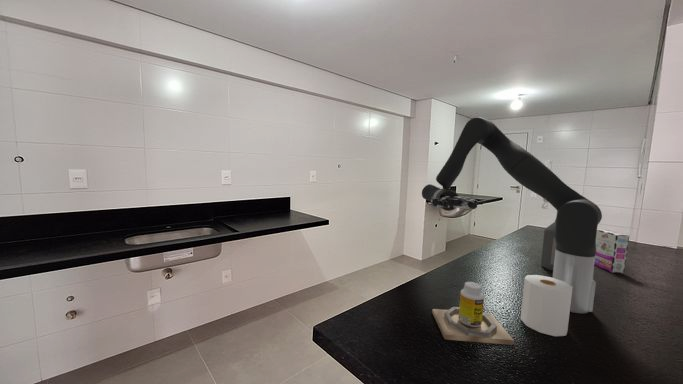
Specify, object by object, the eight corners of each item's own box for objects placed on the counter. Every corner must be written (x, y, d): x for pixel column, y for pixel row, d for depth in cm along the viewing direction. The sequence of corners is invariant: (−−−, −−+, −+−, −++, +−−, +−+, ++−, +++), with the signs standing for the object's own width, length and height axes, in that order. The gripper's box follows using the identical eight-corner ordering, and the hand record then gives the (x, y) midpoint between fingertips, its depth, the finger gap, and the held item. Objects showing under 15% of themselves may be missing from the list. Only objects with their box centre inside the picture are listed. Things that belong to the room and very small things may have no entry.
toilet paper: (571, 342, 66) (577, 294, 65) (520, 327, 71) (525, 283, 70) (564, 322, 74) (569, 280, 73) (519, 310, 80) (523, 271, 79)
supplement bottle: (474, 330, 67) (477, 291, 66) (454, 319, 71) (456, 282, 70) (486, 324, 70) (489, 286, 69) (466, 314, 74) (469, 278, 73)
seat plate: (490, 317, 76) (490, 308, 76) (513, 344, 64) (514, 335, 64) (432, 312, 77) (432, 304, 77) (444, 339, 65) (445, 330, 65)
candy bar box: (625, 274, 112) (630, 235, 110) (611, 273, 112) (616, 234, 111) (603, 264, 123) (607, 229, 121) (591, 263, 124) (595, 228, 122)
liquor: (575, 273, 111) (583, 201, 108) (553, 272, 111) (561, 200, 108) (558, 265, 120) (565, 198, 117) (537, 264, 120) (544, 198, 117)
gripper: (426, 188, 102) (438, 192, 86) (465, 190, 101) (484, 194, 85) (425, 208, 102) (437, 215, 86) (464, 209, 101) (482, 217, 85)
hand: (460, 205), depth 85 cm, fingers open, 8 cm apart
